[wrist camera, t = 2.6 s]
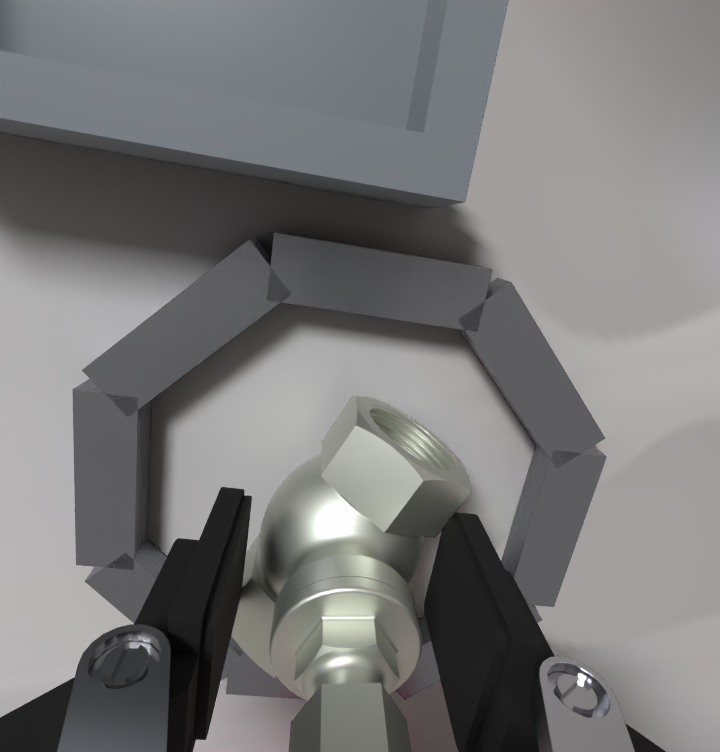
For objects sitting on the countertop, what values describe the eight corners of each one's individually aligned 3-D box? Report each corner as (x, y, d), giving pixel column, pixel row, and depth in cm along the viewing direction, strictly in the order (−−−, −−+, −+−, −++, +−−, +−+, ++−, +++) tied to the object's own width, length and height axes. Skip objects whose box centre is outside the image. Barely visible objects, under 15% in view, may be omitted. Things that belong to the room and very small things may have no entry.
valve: (192, 523, 15) (-307, 1611, 3) (303, 347, 13) (116, 1203, 2) (370, 608, 16) (472, 1571, 5) (488, 458, 14) (1078, 1329, 3)
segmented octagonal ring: (90, 201, 12) (69, 199, 11) (638, 292, 13) (662, 297, 12) (93, 657, 16) (78, 684, 15) (506, 685, 17) (516, 711, 16)
